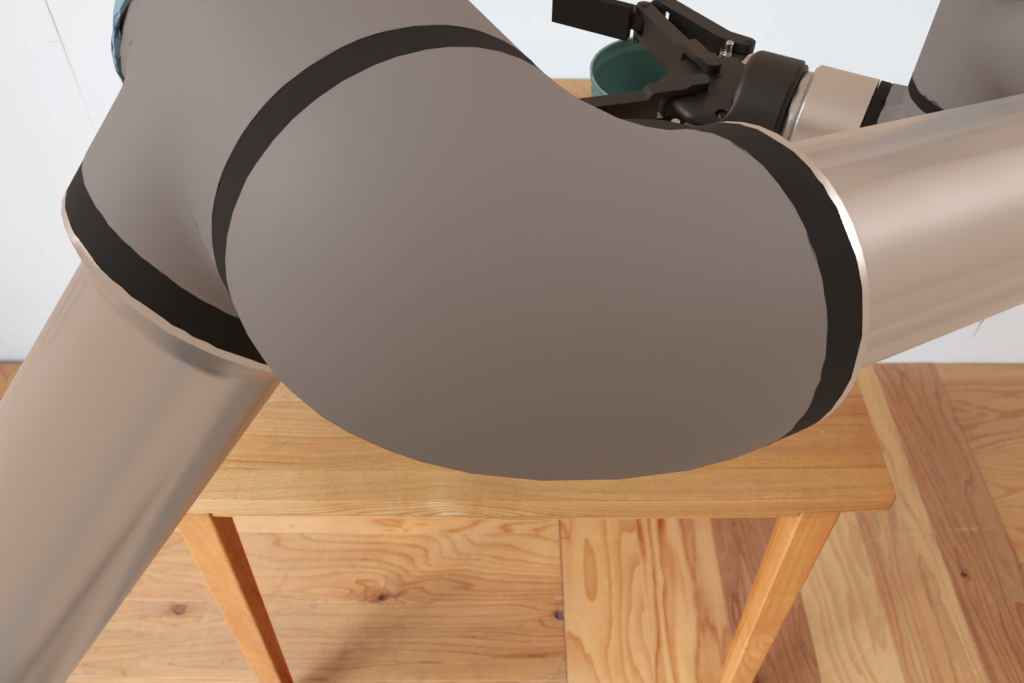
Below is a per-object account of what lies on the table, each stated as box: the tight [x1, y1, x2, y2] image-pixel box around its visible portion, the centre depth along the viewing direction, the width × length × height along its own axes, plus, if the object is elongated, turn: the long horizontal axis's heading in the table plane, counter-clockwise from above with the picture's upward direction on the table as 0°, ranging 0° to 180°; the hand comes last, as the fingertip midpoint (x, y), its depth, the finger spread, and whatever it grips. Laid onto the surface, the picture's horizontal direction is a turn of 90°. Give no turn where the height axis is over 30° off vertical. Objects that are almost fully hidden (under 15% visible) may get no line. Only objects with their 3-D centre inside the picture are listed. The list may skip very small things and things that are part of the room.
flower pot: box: [589, 36, 669, 118], centre depth 99 cm, size 16×16×11 cm
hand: (513, 42), depth 64 cm, fingers open, 13 cm apart
